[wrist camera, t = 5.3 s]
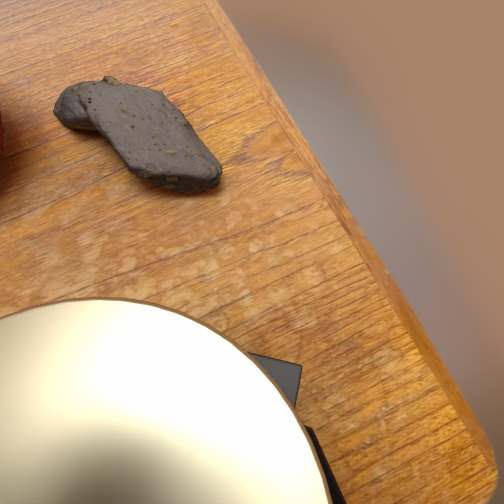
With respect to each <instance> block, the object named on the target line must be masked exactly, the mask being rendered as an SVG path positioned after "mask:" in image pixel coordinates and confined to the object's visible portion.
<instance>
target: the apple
mask: <svg viewBox="0 0 504 504" xmlns="http://www.w3.org/2000/svg"><path fill="white" fill-rule="evenodd" d="M3 137H4V130H3V125H2V119H1V113H0V156H1V153H2V150H3Z"/></svg>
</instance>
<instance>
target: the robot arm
mask: <svg viewBox="0 0 504 504" xmlns="http://www.w3.org/2000/svg"><path fill="white" fill-rule="evenodd" d="M304 427H305V429H306V431H307V432H308V434H309V436H310V438H311V440H312V442H313V445H314V448H315V450H316V453H317V455H318V458H319V460H320V463H321V466H322V468H323V471H324V473H325V476H326V480H327V484H328V488H329V492H330V496H331V499H332V503H333V504H347V503H346V501H345V499H344V497H343V495H342V492H341V490H340V488H339V486H338V484H337V481H336V479H335V477H334V475H333V473H332V470H331V468H330V466H329V464H328V462H327V459H326V457H325V455H324V453H323V451H322V448H321V446H320V444H319V442H318V439H317V437H316V435H315V433H314V431H313V429H312V428H311V427H309V426H305V425H304Z"/></svg>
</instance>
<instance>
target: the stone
mask: <svg viewBox="0 0 504 504" xmlns="http://www.w3.org/2000/svg"><path fill="white" fill-rule="evenodd" d="M53 113H54V114H55V116H57V118H58V119H59V120H60V121H61V122H62V123H63V124H64V125H66V126H67V127H69V128H73V129H88V130H91V131H95V130H98V131H99V132H100V133H101V134H102V135H103V137H104V138H105V139H106V140H107V141H108V142H109V143H110V144H111V145H112V146H113V147H114V149H115V151H116V152H117V153H118V154H119V155H120V156H121V158H122V159H123V161H124V163H125V164H126V166H127V167H128V169H129V170H130V172H131V173H133V174H134V175H136V176H138V177H139V178H141V179H144V180H147V181H149V182H152V183H153V184H155V185H156V186H157V187H164V188H166V189H172V190H175V191H181V192H196V191H205V190H211V189H214V188H215V187H217V186H218V185H219V182H220V177H221V174H222V166H221V164H220V163H219V161H218V160H217V159H216V157H215V156H214V155H213V154H212V153H211V152H210V151H209V149H208V148H207V147H206V146H205V145H204V143H203V142H202V141H201V140H200V138H199V137H198V135H197V134H196V133H195V131H194V129H193V127H192V125H191V124H190V123H189V121H187V120H186V118H185V117H184V114H183V113H182V112H181V111H180V110H179V109H177V108H175V106H173V105H172V104H171V102H170V101H169V100H168V99H167V98H166V97H165V96H164V94H163V92H162V91H156V90H152V89H149V88H145V87H139V86H134V85H129V84H122V83H119V82H118V81H117V80H116V79H115V78H113V77H111V76H104V78H103V80H101V81H97V82H95V81H87V82H81V83H78V84H75V85H73V86H69V87H68V88H66V89H65V90H64V91H63V92H62V93H61V95H60V97H59V98H58V100H57V101H56V104H55V107H54V110H53Z"/></svg>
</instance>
